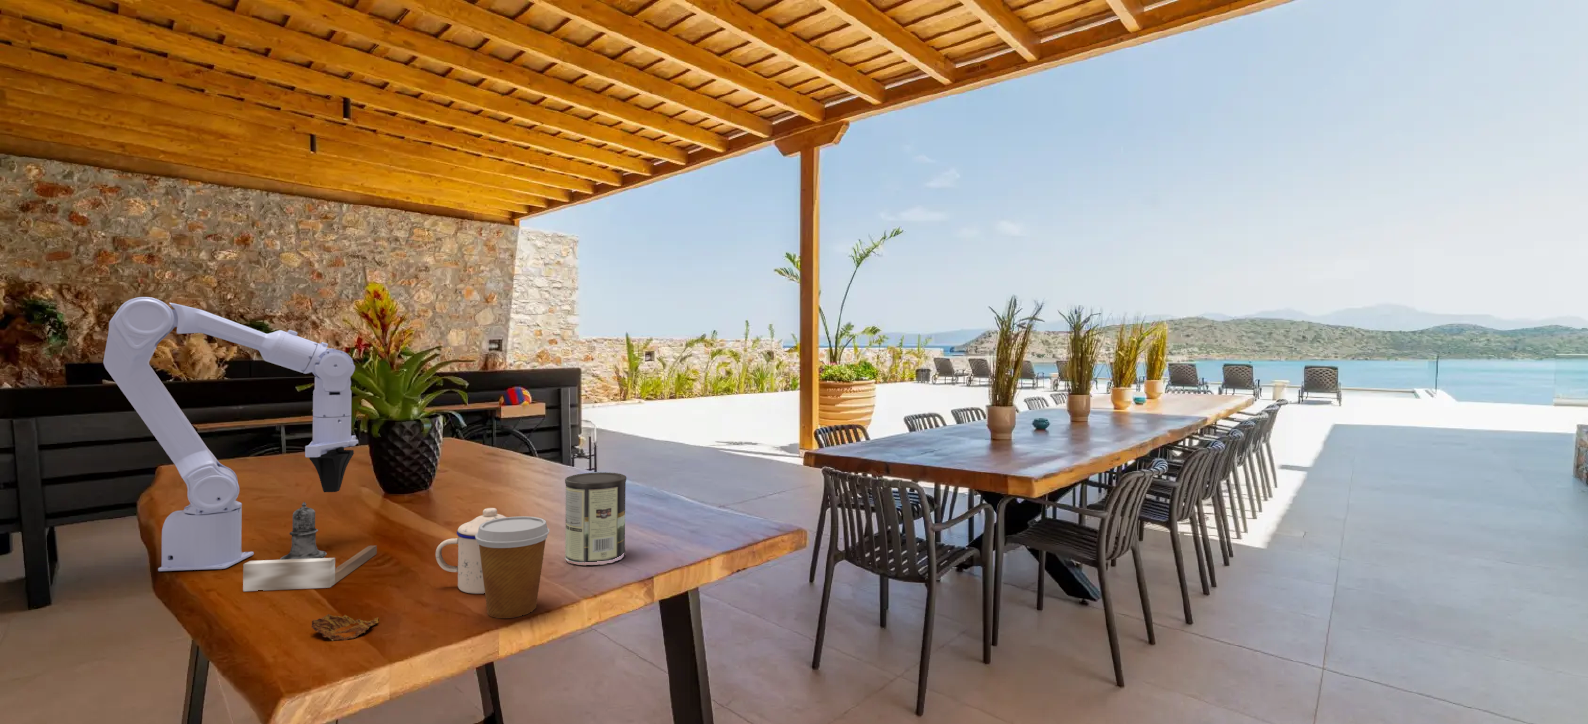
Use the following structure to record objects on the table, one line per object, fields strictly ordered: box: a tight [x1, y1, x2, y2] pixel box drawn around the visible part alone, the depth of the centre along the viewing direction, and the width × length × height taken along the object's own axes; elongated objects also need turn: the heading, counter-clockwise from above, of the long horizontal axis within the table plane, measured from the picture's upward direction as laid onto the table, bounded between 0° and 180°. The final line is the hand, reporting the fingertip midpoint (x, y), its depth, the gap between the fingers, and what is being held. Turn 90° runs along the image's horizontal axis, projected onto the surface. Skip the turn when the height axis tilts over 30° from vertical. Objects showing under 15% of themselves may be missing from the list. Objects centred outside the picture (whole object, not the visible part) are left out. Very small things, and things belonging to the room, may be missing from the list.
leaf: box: [311, 613, 380, 641], centre depth 86 cm, size 6×7×2 cm
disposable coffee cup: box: [475, 515, 550, 619], centre depth 94 cm, size 10×10×12 cm
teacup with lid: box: [435, 507, 507, 595], centre depth 103 cm, size 12×9×12 cm
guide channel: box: [242, 544, 378, 592], centre depth 108 cm, size 11×17×4 cm
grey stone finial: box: [279, 501, 328, 560], centre depth 104 cm, size 6×6×12 cm
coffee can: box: [564, 471, 627, 563], centre depth 118 cm, size 10×10×14 cm
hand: (331, 491), depth 122 cm, fingers closed
